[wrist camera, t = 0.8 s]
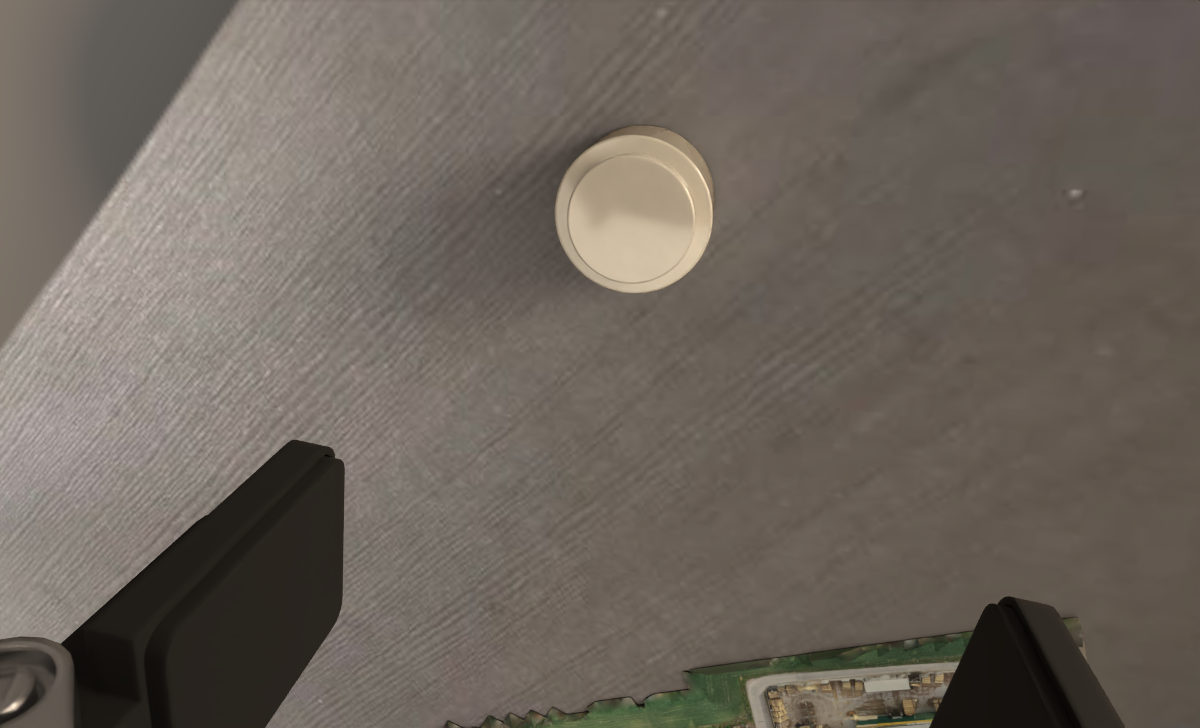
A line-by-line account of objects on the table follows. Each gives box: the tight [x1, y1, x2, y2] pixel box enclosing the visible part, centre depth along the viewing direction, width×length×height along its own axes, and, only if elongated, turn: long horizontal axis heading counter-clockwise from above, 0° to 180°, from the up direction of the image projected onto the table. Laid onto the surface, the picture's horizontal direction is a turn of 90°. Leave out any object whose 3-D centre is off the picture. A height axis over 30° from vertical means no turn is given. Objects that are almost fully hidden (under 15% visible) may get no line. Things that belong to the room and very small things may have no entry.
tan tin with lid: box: [555, 125, 714, 293], centre depth 24 cm, size 5×5×4 cm
